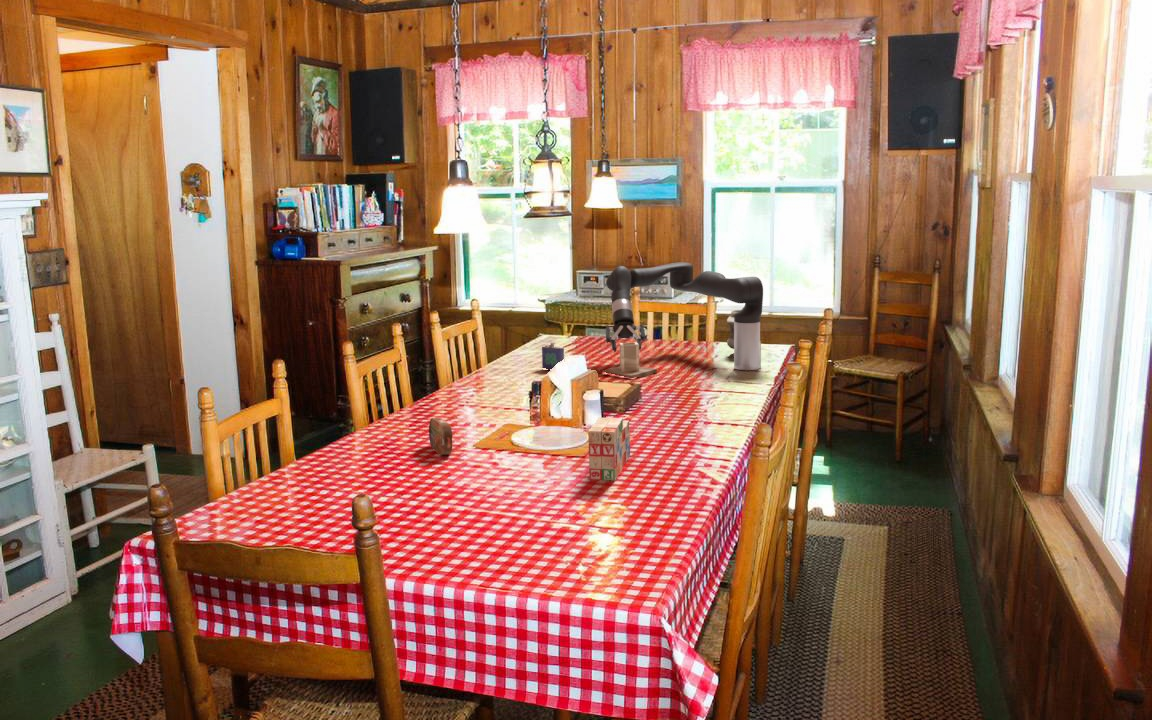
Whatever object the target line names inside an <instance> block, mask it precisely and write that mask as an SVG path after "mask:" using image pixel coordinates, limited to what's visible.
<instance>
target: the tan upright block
mask: <svg viewBox="0 0 1152 720" xmlns="http://www.w3.org/2000/svg"><path fill="white" fill-rule="evenodd" d="M639 366H640V351H639V344H638V343H637V342H636V341H635V342H619V367H620V370H621V372H624V371H639Z"/></svg>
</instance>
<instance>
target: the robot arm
mask: <svg viewBox="0 0 1152 720" xmlns="http://www.w3.org/2000/svg"><path fill="white" fill-rule="evenodd" d="M667 274H669V286H670V288H671V289H673V290H675V291H681V292H691V293H697V294H701V295H703V296H709V297H713V298H723V299H726V300H728V301H730V302H732V303H736V304H744V306H743V307H742V308H741V309H739V310H740V311H739V312H737V313H736V314H735V315H734V349H733V353H734V358H733V368H734V369H736V370H740V371H756V370H759V369H760V367H762V363H761V362H762V341H761V316H762V314H763V301H764V285H763V282H762V280H761V279H760V278H759V277H757V276H745V277H736V278H726V276H725V275H724V274H722V273H721V272H717V271H711V270H706V271H705V270H704V271H703V272H700V274H698V275H697V276H696V277H695V278H694V265H693V264H692V263H690V262H687V261H686V262H685V261H679V262H678V261H677V262H672V263H666V264H662V265H661V264H660V265H656V266H653V267H645V268H644V267H643V268H641V267H640V268H633V269H631V270H630V269H628V268H627V267H626V266H624V265H618V266H616V267H615V268H614V269H613V270H612V272H610V274H609V276H608V277H607V279H606V283H605V284H606V287H607V289H609V291H611V296H610V298H611V306H612V307H611V312H612V322H613V326H609V325H606V326H605V343H607V344H608V343H610V344H611V350H612V351H613V352H615V353H616V352H617V341H618V339H619V338H620V339H624V338H628V339H630V338H631V339H632V340H634V341H635V343H636V342H637V343H638V344H639V352H640V351H641V350H642V346H643V345H642V342H645V340H646V333H645V327H644V324H643V323H640V324H639V325H636V324H635V320H634V319H635V317H634V309H633V306H632V301H631V295H630V294H631V289H633V288H642V287H649V286H652V285H653V284H655V283H657V282H658V281H660V279H662V278H663V277H664V276H665V275H667ZM612 331H613V332H614V333H613V335H612V337H610V334H611V333H612ZM637 332H638V333H637ZM639 334H640V335H639Z"/></svg>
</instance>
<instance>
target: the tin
mask: <svg viewBox="0 0 1152 720" xmlns="http://www.w3.org/2000/svg"><path fill="white" fill-rule="evenodd" d="M428 436H429V443H430V447H431V449H432V448H433V449H434V450H433V449H432V450H433V451H435V452H436V453H437V454H438V455H439V456H447V455H451V454H452V451H453V430H452V427H451V425H450V424H449V423H448V422H447V421H445V419H443V418H441V417H437V418H436V417H435V418H434V417H432V418H430V420H429V424H428Z"/></svg>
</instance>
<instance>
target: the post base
mask: <svg viewBox="0 0 1152 720" xmlns="http://www.w3.org/2000/svg"><path fill="white" fill-rule="evenodd" d="M602 372H606V373H611V374H615V375H619V376H624V377H629V378H634V377H640V378H642V377H641V376H644V377H647V376H646V375H648V376H651V375H650V374H652V375H654V374H653V373H656V374H658V369H657V368H651V367H646V366H640V365H639V371H624V372H621V370H620V366H616V367H612V368H608V369H605V370H601V373H602Z"/></svg>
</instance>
